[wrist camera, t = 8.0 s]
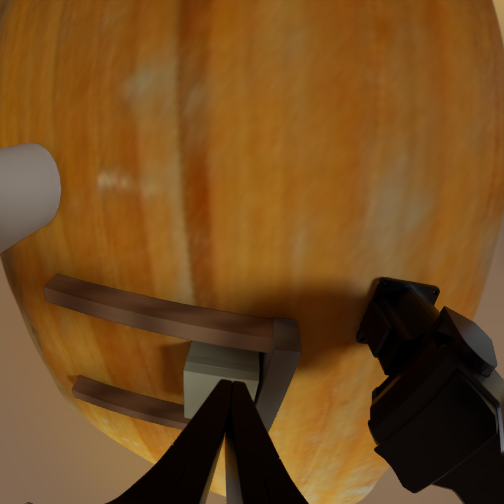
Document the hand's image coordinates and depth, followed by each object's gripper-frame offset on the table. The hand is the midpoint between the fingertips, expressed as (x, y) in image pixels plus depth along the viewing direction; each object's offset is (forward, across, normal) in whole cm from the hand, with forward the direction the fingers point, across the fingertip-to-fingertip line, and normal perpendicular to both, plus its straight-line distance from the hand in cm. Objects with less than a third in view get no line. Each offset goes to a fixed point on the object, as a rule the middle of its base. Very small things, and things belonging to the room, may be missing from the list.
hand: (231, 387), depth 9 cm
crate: (+13, 0, +13) cm, 19 cm away
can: (+13, +19, -3) cm, 23 cm away
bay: (+13, +6, +14) cm, 20 cm away
